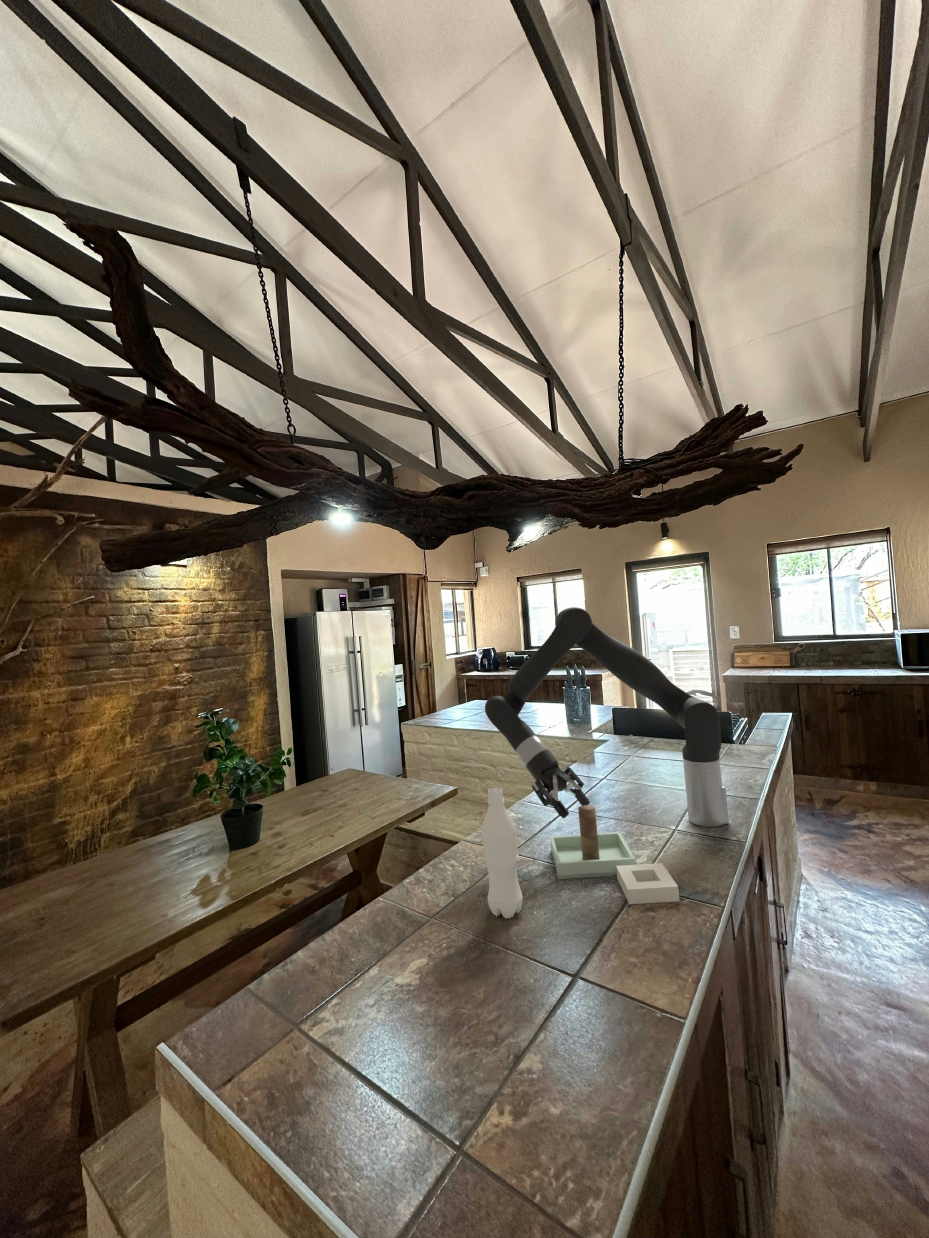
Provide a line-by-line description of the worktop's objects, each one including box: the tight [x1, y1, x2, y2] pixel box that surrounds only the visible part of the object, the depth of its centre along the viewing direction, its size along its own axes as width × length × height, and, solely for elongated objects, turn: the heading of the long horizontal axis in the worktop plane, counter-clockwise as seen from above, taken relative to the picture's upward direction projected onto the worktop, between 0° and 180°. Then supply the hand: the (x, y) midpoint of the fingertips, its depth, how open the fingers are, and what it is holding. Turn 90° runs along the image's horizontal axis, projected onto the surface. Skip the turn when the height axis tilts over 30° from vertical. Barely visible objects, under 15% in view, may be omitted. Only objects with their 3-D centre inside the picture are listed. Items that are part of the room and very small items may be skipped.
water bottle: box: [481, 787, 524, 919], centre depth 105 cm, size 7×7×25 cm
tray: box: [549, 831, 637, 880], centre depth 123 cm, size 18×15×4 cm
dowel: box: [577, 804, 600, 860], centre depth 123 cm, size 4×4×12 cm
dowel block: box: [616, 862, 680, 905], centre depth 108 cm, size 10×10×3 cm
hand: (577, 810), depth 125 cm, fingers open, 8 cm apart
